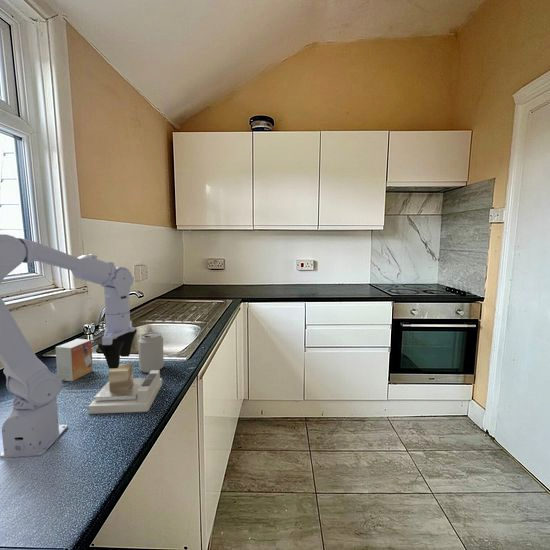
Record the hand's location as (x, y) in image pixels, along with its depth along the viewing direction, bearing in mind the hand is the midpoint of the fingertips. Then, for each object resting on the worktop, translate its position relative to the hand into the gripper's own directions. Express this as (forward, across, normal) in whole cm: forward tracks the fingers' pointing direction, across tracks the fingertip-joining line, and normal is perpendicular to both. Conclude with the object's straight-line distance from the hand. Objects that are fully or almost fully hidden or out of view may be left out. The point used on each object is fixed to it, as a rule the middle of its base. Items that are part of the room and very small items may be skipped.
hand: (119, 361), depth 81 cm
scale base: (+10, 0, -2) cm, 11 cm away
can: (+11, +18, -3) cm, 21 cm away
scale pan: (+8, 0, 0) cm, 8 cm away
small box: (+11, +15, +19) cm, 26 cm away
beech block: (+7, 0, 0) cm, 7 cm away
